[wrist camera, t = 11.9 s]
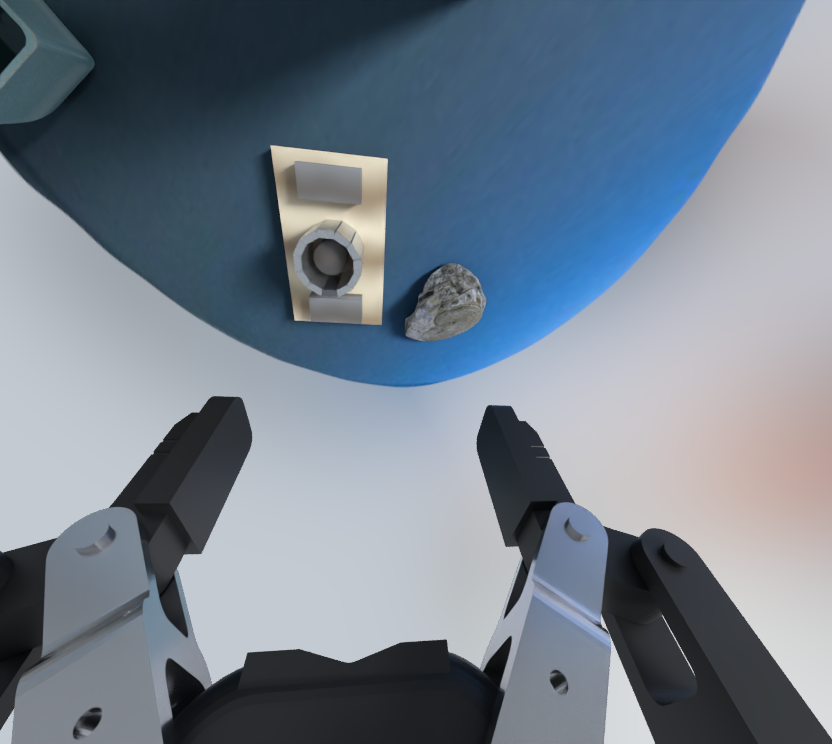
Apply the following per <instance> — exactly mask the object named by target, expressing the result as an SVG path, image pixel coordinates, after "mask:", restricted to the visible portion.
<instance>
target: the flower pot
mask: <svg viewBox="0 0 832 744" xmlns="http://www.w3.org/2000/svg"><path fill="white" fill-rule="evenodd" d="M94 65H95V63H94V60H93V58H92V57H91V55H90V54H89V53H88V52H87V50H86V49H85V48H84V47H83V46H82V45H81V44H80V42H79V41H78V40H77V39H76V38H75V37H74V36H73V34H72V33H71V32H70V31H69V30H68V29H67V28H66V26H65V25H64V24H63V23H62V22H61V21H60V20H59V18H58V17H57V16H56V15H55V14H54V13H53V11H52V10H51V9H50V8H49V7H48V6H47V5H46V3H45V2H44V1H43V0H0V124H14V123H25V122H32V121H35V120H38V119H41V118H43V117H45V116H47V115H48V114H50V113H51V112H53V111H54V110H55V109H56V108H57V107H58V106H59V105H60V104H61V103H62V102H63V101H64V100H65V99H66V98H67V97H68V96H69V94H70V93H71V92H72V91H73V90H74V89H75V88H76V86H77V85H78V84H79V83H80V82H81V81H82V80H83V79H84V78H85V77H86V76H87V75H88V73H89V72H90V71H91V70H92V69H93V67H94Z"/></svg>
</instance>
